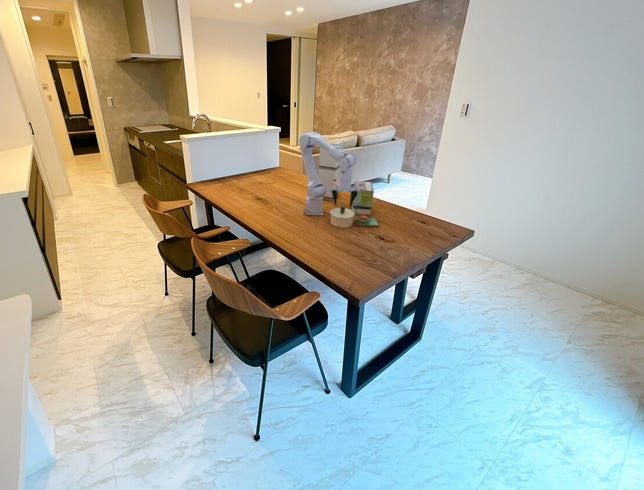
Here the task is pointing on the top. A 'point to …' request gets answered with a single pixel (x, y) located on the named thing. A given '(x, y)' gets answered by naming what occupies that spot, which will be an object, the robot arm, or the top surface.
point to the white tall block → (328, 170)
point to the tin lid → (342, 213)
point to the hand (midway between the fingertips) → (343, 204)
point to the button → (363, 217)
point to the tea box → (363, 198)
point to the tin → (341, 222)
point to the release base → (366, 222)
